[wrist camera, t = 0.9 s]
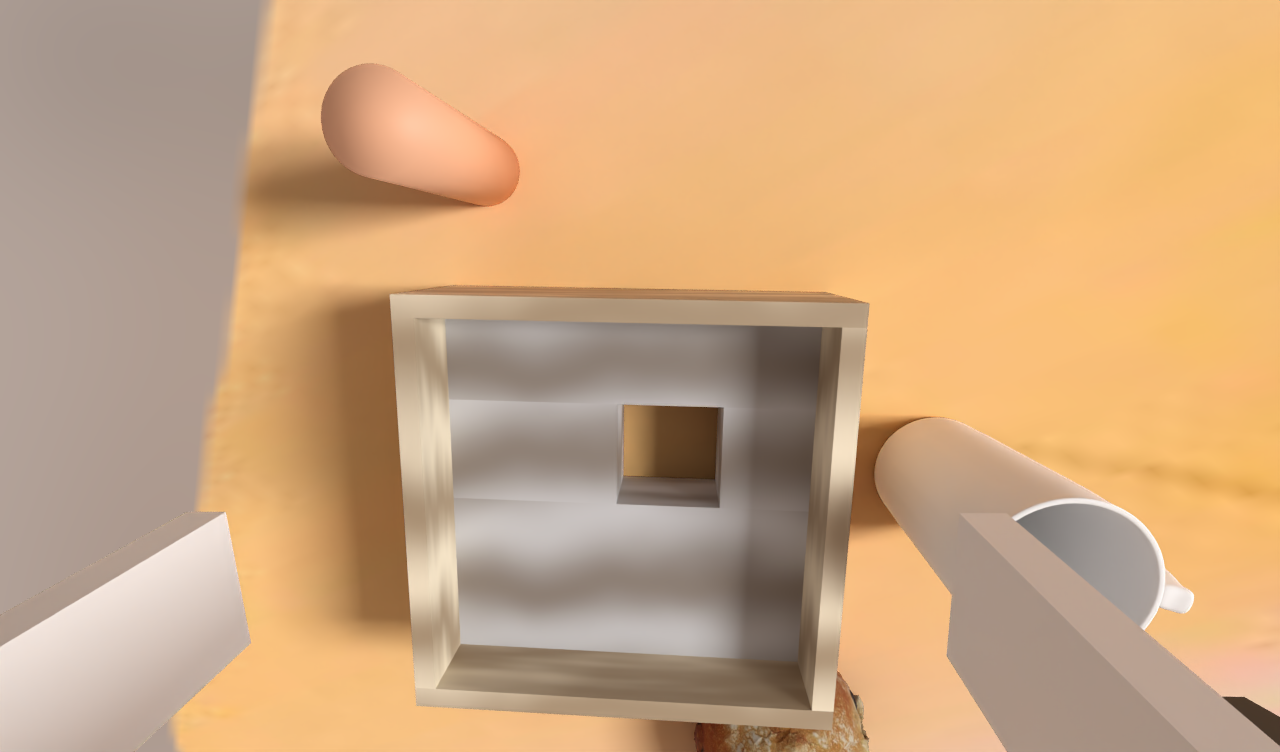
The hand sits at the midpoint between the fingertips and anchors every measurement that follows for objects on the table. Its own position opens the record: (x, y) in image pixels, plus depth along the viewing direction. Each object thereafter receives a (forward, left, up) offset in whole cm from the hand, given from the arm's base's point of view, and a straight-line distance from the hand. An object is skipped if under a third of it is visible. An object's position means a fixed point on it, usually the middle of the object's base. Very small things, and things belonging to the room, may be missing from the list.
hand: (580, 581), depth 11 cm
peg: (-10, -9, -23) cm, 27 cm away
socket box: (+6, -1, -23) cm, 24 cm away
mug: (+6, +17, -23) cm, 30 cm away
